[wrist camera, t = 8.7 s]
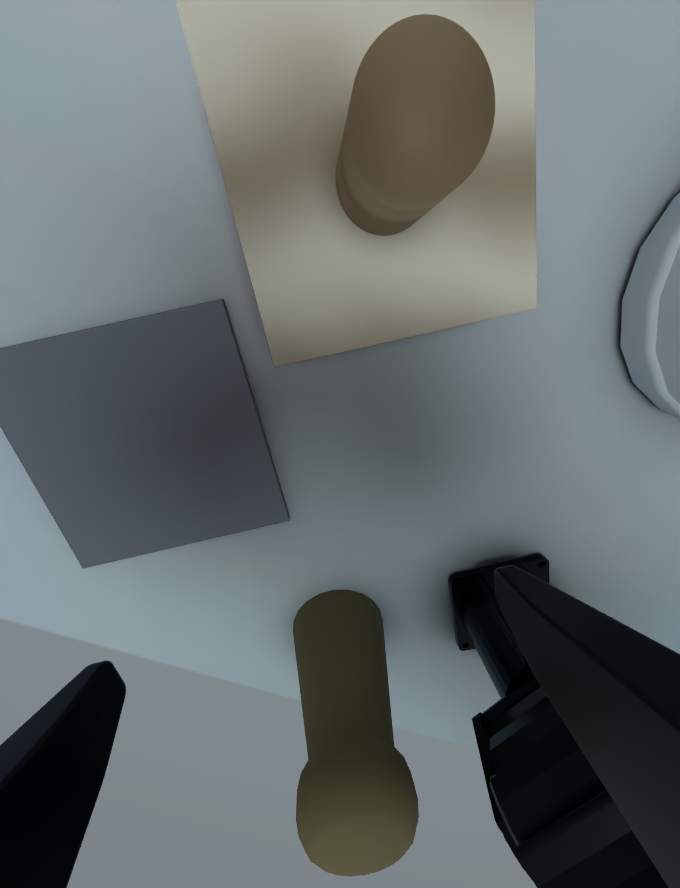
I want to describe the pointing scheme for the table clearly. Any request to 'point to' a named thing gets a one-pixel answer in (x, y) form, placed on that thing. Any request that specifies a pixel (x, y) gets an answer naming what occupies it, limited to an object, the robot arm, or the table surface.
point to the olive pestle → (349, 740)
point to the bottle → (655, 314)
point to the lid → (373, 161)
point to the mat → (141, 433)
